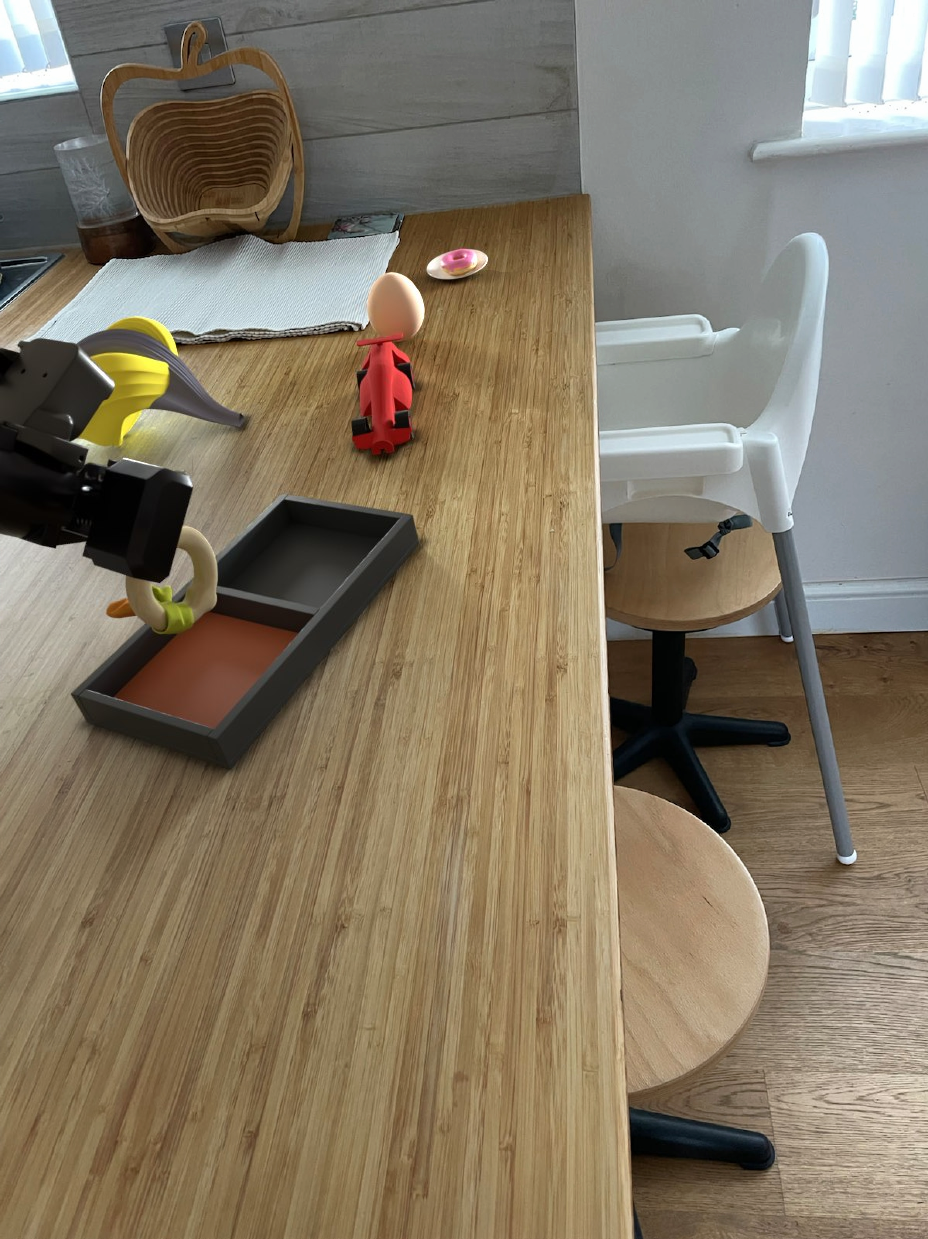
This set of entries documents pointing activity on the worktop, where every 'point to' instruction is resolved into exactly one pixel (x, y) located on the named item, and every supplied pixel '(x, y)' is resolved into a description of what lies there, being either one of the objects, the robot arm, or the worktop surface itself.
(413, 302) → the egg
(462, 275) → the donut
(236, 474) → the worktop surface
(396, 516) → the tray
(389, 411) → the toy car
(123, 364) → the yellow grey curved horn
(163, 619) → the rattle
